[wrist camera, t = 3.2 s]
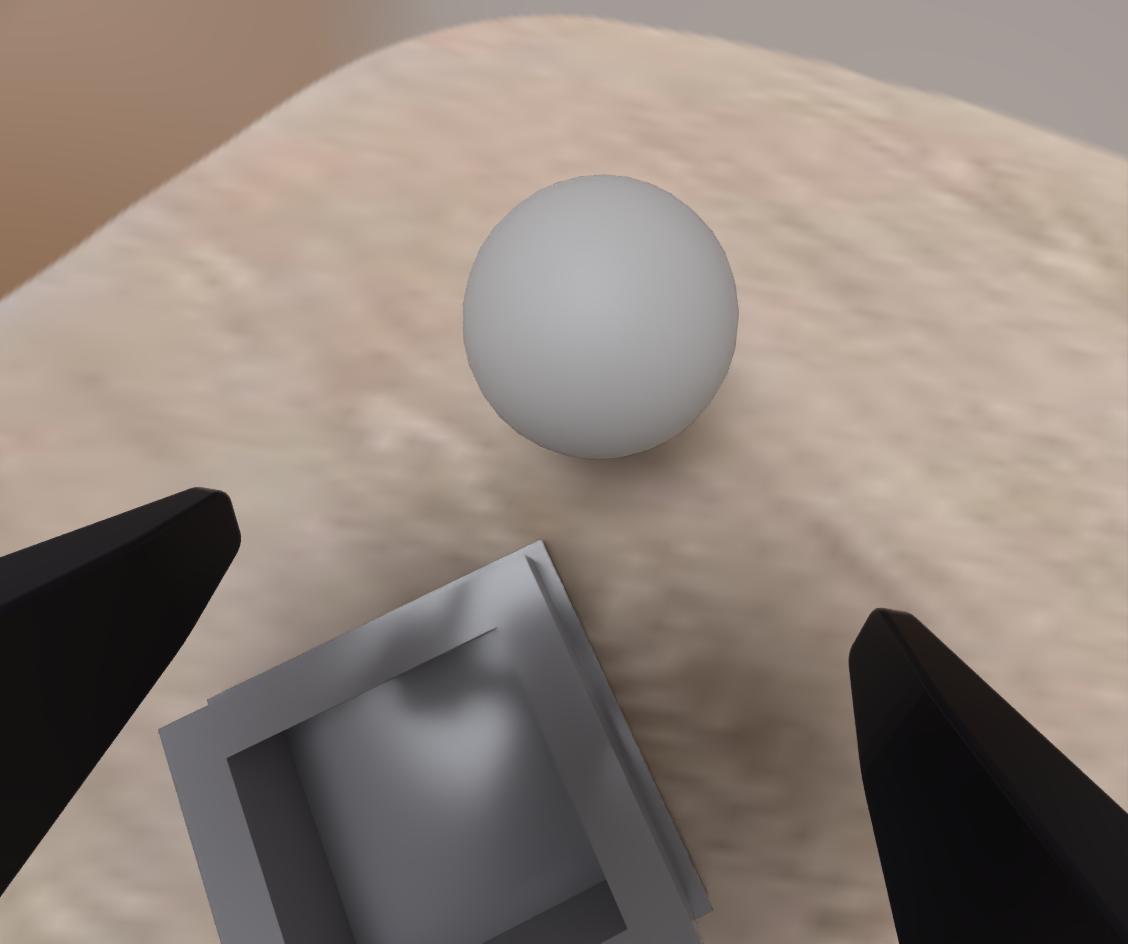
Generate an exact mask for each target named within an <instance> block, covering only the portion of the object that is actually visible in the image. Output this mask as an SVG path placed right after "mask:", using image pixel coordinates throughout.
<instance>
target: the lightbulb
mask: <svg viewBox="0 0 1128 944" xmlns="http://www.w3.org/2000/svg"><path fill="white" fill-rule="evenodd" d="M738 315H739V309H738V301H737V292H736V285H735V281H734V277H733V274H732V271H731V268H730V265H729V262H728V259H727V256H726V253H725V251H724V250H723V248H722V246H721V245H720V243H719V241H718V240H717V238H716V236H715V235H714V233H713V231H712V230H711V229H710V228H709V227H708V226H707V225H706V224H705V223H704V221H703V220H702V219H701V218H700V217H699V216H698V215H697V214H696V213H695V212H694V211H693V210H692V209H691V208H690V207H689V206H687V205H686V204H685V203H683V202H682V201H681V200H679V199H678V198H676V197H675V196H674V195H672V194H671V193H669V192H667V191H665V190H663V189H661V188H659V187H657V186H655V185H653V184H650V183H647V182H644V181H640V180H636V179H633V178H629V177H622V176H612V175H594V176H581V177H577V178H573V179H569V180H565V181H561V182H557V183H555V184H553V185H551V186H548V187H546V188H544V189H542V190H539V191H537V192H536V193H534V194H533V195H531V196H530V197H528V198H527V199H525V200H524V201H522V202H521V203H520V204H518V205H517V206H516V207H515V208H514V209H512V210H511V211H510V212H509V213H508V214H507V215H506V216H505V217H504V218H503V219H502V220H501V221H500V222H499V223H498V224H497V225H496V226H495V227H494V228H493V230H492V231H491V233H490V234H489V236H488V237H487V239H486V240H485V242H484V243H483V245H482V246H481V247H480V250H479V252H478V255H477V257H476V259H475V262H474V264H473V266H472V269H471V272H470V275H469V278H468V282H467V287H466V292H465V297H464V302H463V336H464V345H465V349H466V353H467V358H468V362H469V366H470V368H471V370H472V372H473V375H474V377H475V379H476V381H477V383H478V385H479V387H480V389H481V391H482V393H483V395H484V397H485V398H486V400H487V401H488V402H489V403H490V405H491V406H492V407H493V409H494V410H495V411H496V413H497V414H498V415H499V417H500V418H501V419H503V420H504V421H505V422H506V423H507V424H508V425H509V426H511V427H512V428H513V429H514V430H515V431H516V432H517V433H518V434H520V435H522V436H524V437H525V438H527V439H529V440H530V441H532V442H534V443H536V444H537V445H539V446H541V447H544V448H547V449H549V450H552V451H555V452H558V453H561V454H564V455H567V456H573V457H580V458H588V459H606V458H619V457H623V456H627V455H631V454H635V453H639V452H643V451H647V450H649V449H651V448H653V447H655V446H657V445H659V444H662V443H664V442H666V441H668V440H670V439H672V438H673V437H674V436H676V435H677V434H678V433H680V432H681V431H682V430H684V429H685V428H686V427H688V426H689V425H690V424H692V423H693V422H694V420H695V419H696V418H697V417H698V416H699V415H700V414H701V413H702V411H703V410H704V409H705V408H706V407H707V406H708V405H709V403H710V402H711V400H712V399H713V397H714V396H715V394H716V392H717V390H718V389H719V387H720V385H721V383H722V382H723V380H724V378H725V376H726V375H727V373H728V369H729V366H730V363H731V360H732V357H733V354H734V351H735V345H736V336H737V326H738Z"/></svg>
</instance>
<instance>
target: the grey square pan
mask: <svg viewBox="0 0 1128 944" xmlns="http://www.w3.org/2000/svg"><path fill="white" fill-rule="evenodd" d="M207 702H208V705H207V706H205V707H203V708H201V709H199V710H197V711H195V712H193V713H191V714H189V715H187V716H184V717H182V718H180V719H178V720H176V721H174V722H172V723H170V724H168V725H166V726H164V727H162V728H159V729H158V731H159V734H160V738H161V741H162V745H163V748H164V751H165V755H166V758H167V762H168V765H169V768H170V772H171V775H172V779H173V782H174V785H175V789H176V792H177V796H178V799H179V802H180V806H181V809H182V813H183V816H184V819H185V823H186V826H187V830H188V833H189V836H190V840H191V843H192V847H193V850H194V853H195V857H196V860H197V863H198V867H199V870H200V874H201V877H202V880H203V884H204V887H205V891H206V894H207V897H208V901H209V904H210V908H211V911H212V914H213V918H214V921H215V925H216V928H217V931H218V935H219V938H220V942H221V944H704V942H703V939H702V936H701V933H700V930H699V926H698V923H697V920H696V919H697V918H699V917H701V916H703V915H705V914H706V913H708V912H710V911H712V910H713V908H712V905H711V903H710V900H709V898H708V895H707V893H706V891H705V889H704V887H703V885H702V882H701V880H700V878H699V876H698V874H697V872H696V869H695V867H694V865H693V863H692V861H691V859H690V857H689V854H688V852H687V850H686V848H685V846H684V844H683V842H682V839H681V837H680V835H679V833H678V831H677V829H676V827H675V824H674V822H673V820H672V818H671V816H670V814H669V812H668V809H667V807H666V805H665V803H664V801H663V799H662V796H661V794H660V792H659V790H658V788H657V786H656V784H655V781H654V779H653V777H652V775H651V773H650V771H649V769H648V766H647V764H646V762H645V760H644V758H643V756H642V754H641V751H640V749H639V747H638V745H637V743H636V741H635V738H634V736H633V734H632V732H631V730H630V728H629V726H628V723H627V721H626V719H625V717H624V715H623V713H622V711H621V708H620V706H619V704H618V702H617V700H616V698H615V696H614V693H613V691H612V689H611V687H610V685H609V683H608V681H607V678H606V676H605V674H604V672H603V670H602V668H601V665H600V663H599V661H598V659H597V657H596V655H595V653H594V650H593V648H592V646H591V644H590V642H589V640H588V638H587V635H586V633H585V631H584V629H583V627H582V625H581V623H580V620H579V618H578V616H577V614H576V612H575V610H574V607H573V605H572V603H571V601H570V599H569V597H568V595H567V592H566V590H565V588H564V586H563V584H562V582H561V580H560V577H559V575H558V573H557V571H556V569H555V567H554V565H553V562H552V560H551V558H550V556H549V554H548V552H547V550H546V547H545V545H544V543H543V541H542V540H539V541H537V542H535V543H532V544H530V545H528V546H526V547H524V548H522V549H520V550H518V551H516V552H514V553H512V554H510V555H507V556H505V557H503V558H501V559H499V560H497V561H495V562H493V563H491V564H489V565H487V566H485V567H482V568H480V569H478V570H476V571H474V572H472V573H470V574H468V575H466V576H464V577H462V578H460V579H457V580H455V581H453V582H451V583H449V584H447V585H445V586H443V587H441V588H439V589H437V590H435V591H432V592H430V593H428V594H426V595H424V596H422V597H420V598H418V599H416V600H414V601H412V602H410V603H407V604H405V605H403V606H401V607H399V608H397V609H395V610H393V611H391V612H389V613H387V614H385V615H382V616H380V617H378V618H376V619H374V620H372V621H370V622H368V623H366V624H364V625H362V626H360V627H357V628H355V629H353V630H351V631H349V632H347V633H345V634H343V635H341V636H339V637H337V638H335V639H332V640H330V641H328V642H326V643H324V644H322V645H320V646H318V647H316V648H314V649H312V650H310V651H307V652H305V653H303V654H301V655H299V656H297V657H295V658H293V659H291V660H289V661H287V662H285V663H282V664H280V665H278V666H276V667H274V668H272V669H270V670H268V671H266V672H264V673H262V674H259V675H257V676H255V677H253V678H251V679H249V680H247V681H245V682H243V683H241V684H239V685H237V686H234V687H232V688H230V689H228V690H226V691H224V692H222V693H220V694H218V695H216V696H214V697H212V698H209V699H207Z"/></svg>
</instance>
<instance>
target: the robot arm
mask: <svg viewBox="0 0 1128 944" xmlns="http://www.w3.org/2000/svg"><path fill="white" fill-rule="evenodd" d="M240 543H241V533H240V529H239V526H238V523H237V519H236V516H235V512H234V509H233V505H232V502H231V499H230V497H229V496H228V495H227V494H226V493H225V492H223V491H220V490H215V489H209V488H203V487H194V488H190V489H188V490H185V491H182V492H179V493H177V494H174V495H171V496H168V497H166V498H163V499H160V500H157V501H155V502H152V503H149V504H146V505H143V506H141V507H138V508H135V509H132V510H130V511H127V512H124V513H121V514H119V515H116V516H113V517H110V518H108V519H105V520H102V521H99V522H96V523H94V524H91V525H88V526H85V527H83V528H80V529H77V530H74V531H72V532H69V533H66V534H63V535H61V536H58V537H55V538H52V539H50V540H47V541H44V542H41V543H38V544H36V545H33V546H30V547H27V548H25V549H22V550H19V551H16V552H14V553H11V554H8V555H5V556H3V557H0V897H1V895H2V894H3V893H4V891H5V890H6V889H7V887H8V886H9V884H10V883H11V882H12V880H13V879H14V878H15V876H16V875H17V873H18V872H19V871H20V869H21V868H22V867H23V865H24V864H25V862H26V861H27V860H28V858H29V857H30V855H31V854H32V853H33V851H34V850H35V849H36V847H37V846H38V844H39V843H40V842H41V840H42V839H43V838H44V836H45V835H46V833H47V832H48V831H49V829H50V828H51V827H52V825H53V824H54V822H55V821H56V820H57V818H58V817H59V815H60V814H61V813H62V811H63V810H64V809H65V807H66V806H67V804H68V803H69V802H70V800H71V799H72V798H73V796H74V795H75V793H76V792H77V791H78V789H79V788H80V787H81V785H82V784H83V782H84V781H85V780H86V778H87V777H88V775H89V774H90V773H91V771H92V770H93V769H94V767H95V766H96V764H97V763H98V762H99V760H100V759H101V758H102V756H103V755H104V753H105V752H106V751H107V749H108V748H109V747H110V745H111V744H112V742H113V741H114V740H115V738H116V737H117V736H118V734H119V733H120V731H121V730H122V729H123V727H124V726H125V724H126V723H127V722H128V720H129V719H130V718H131V716H132V715H133V713H134V712H135V711H136V709H137V708H138V707H139V705H140V704H141V702H142V701H143V700H144V698H145V697H146V696H147V694H148V693H149V691H150V690H151V689H152V687H153V686H154V684H155V683H156V682H157V680H158V679H159V678H160V676H161V675H162V673H163V672H164V671H165V669H166V668H167V667H168V665H169V664H170V662H171V661H172V660H173V658H174V657H175V655H176V654H177V653H178V651H179V650H180V648H181V647H182V645H183V644H184V642H185V641H186V639H187V637H188V636H189V634H190V633H191V631H192V630H193V628H194V626H195V625H196V623H197V621H198V619H199V618H200V616H201V614H202V613H203V611H204V609H205V607H206V606H207V604H208V602H209V601H210V599H211V597H212V595H213V594H214V592H215V590H216V589H217V587H218V585H219V583H220V582H221V580H222V578H223V577H224V575H225V573H226V571H227V570H228V568H229V566H230V565H231V563H232V561H233V559H234V558H235V556H236V554H237V552H238V550H239V547H240ZM849 672H850V681H851V690H852V699H853V708H854V717H855V726H856V735H857V743H858V752H859V760H860V768H861V775H862V780H863V785H864V790H865V795H866V800H867V804H868V809H869V813H870V817H871V822H872V826H873V831H874V835H875V840H876V844H877V848H878V853H879V857H880V862H881V866H882V870H883V875H884V879H885V884H886V888H887V892H888V897H889V901H890V906H891V910H892V914H893V919H894V923H895V928H896V932H897V936H898V941H899V944H1128V813H1127V812H1126V811H1125V810H1123V809H1122V808H1121V807H1120V806H1119V805H1118V804H1117V803H1116V802H1115V801H1114V800H1113V799H1112V798H1110V797H1109V796H1108V795H1107V794H1106V793H1105V792H1104V791H1103V790H1102V789H1101V788H1100V787H1099V786H1098V785H1096V784H1095V783H1094V782H1093V781H1092V780H1091V779H1090V778H1089V777H1088V776H1087V775H1086V774H1085V773H1083V772H1082V771H1081V770H1080V769H1079V768H1078V767H1077V766H1076V765H1075V764H1074V763H1073V762H1072V761H1070V760H1069V759H1068V758H1067V757H1066V756H1065V755H1064V754H1063V753H1062V752H1061V751H1060V750H1059V749H1057V748H1056V747H1055V746H1054V745H1053V744H1052V743H1051V742H1050V741H1049V740H1048V739H1047V738H1046V737H1045V736H1043V735H1042V734H1041V733H1040V732H1039V731H1038V730H1037V729H1036V728H1035V727H1034V726H1033V725H1032V724H1030V723H1029V722H1028V721H1027V720H1026V719H1025V718H1024V717H1023V716H1022V715H1021V714H1020V713H1019V712H1017V711H1016V710H1015V709H1014V708H1013V707H1012V706H1011V705H1010V704H1009V703H1008V702H1007V701H1006V700H1005V699H1003V698H1002V697H1001V696H1000V695H999V694H998V693H997V692H996V691H995V690H994V689H993V688H992V687H990V686H989V685H988V684H987V683H986V682H985V681H984V680H983V679H982V678H981V677H980V676H979V675H977V674H976V673H975V672H974V671H973V670H972V669H971V668H970V667H969V666H968V665H967V664H966V663H964V662H963V661H962V660H961V659H960V658H959V657H958V656H957V655H956V654H955V653H954V652H953V651H952V650H950V649H949V648H948V647H947V646H946V645H945V644H944V643H943V642H942V641H941V640H940V639H939V638H937V637H936V636H935V635H934V634H933V633H932V632H931V631H930V630H929V629H928V628H927V627H926V626H924V625H923V624H922V623H921V622H920V621H919V620H918V619H917V618H916V617H914V616H913V615H912V614H910V613H908V612H904V611H898V610H893V609H887V608H877V609H875V610H873V611H872V612H871V614H870V615H869V617H868V618H867V620H866V622H865V624H864V625H863V627H862V629H861V631H860V632H859V634H858V636H857V638H856V640H855V641H854V643H853V645H852V647H851V650H850V653H849Z"/></svg>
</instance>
